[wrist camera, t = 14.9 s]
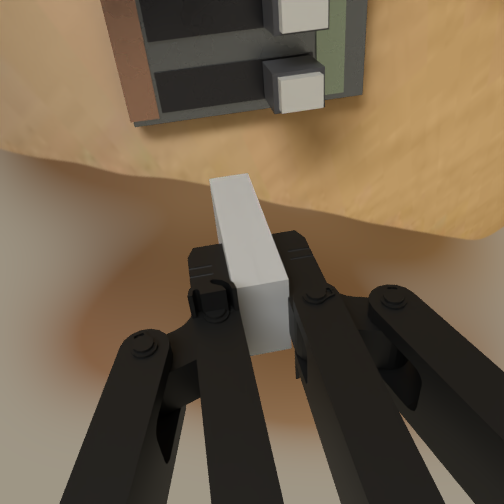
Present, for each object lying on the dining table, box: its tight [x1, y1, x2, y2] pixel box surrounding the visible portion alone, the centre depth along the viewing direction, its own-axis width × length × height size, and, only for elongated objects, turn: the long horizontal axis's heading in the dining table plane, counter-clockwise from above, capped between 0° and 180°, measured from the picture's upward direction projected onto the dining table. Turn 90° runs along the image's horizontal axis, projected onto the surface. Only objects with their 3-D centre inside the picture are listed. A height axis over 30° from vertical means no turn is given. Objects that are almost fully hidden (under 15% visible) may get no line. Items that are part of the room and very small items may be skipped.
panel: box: [100, 0, 368, 127], centre depth 35 cm, size 20×16×2 cm
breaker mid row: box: [262, 0, 330, 37], centre depth 32 cm, size 4×3×5 cm
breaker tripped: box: [262, 55, 325, 114], centre depth 36 cm, size 4×3×5 cm
